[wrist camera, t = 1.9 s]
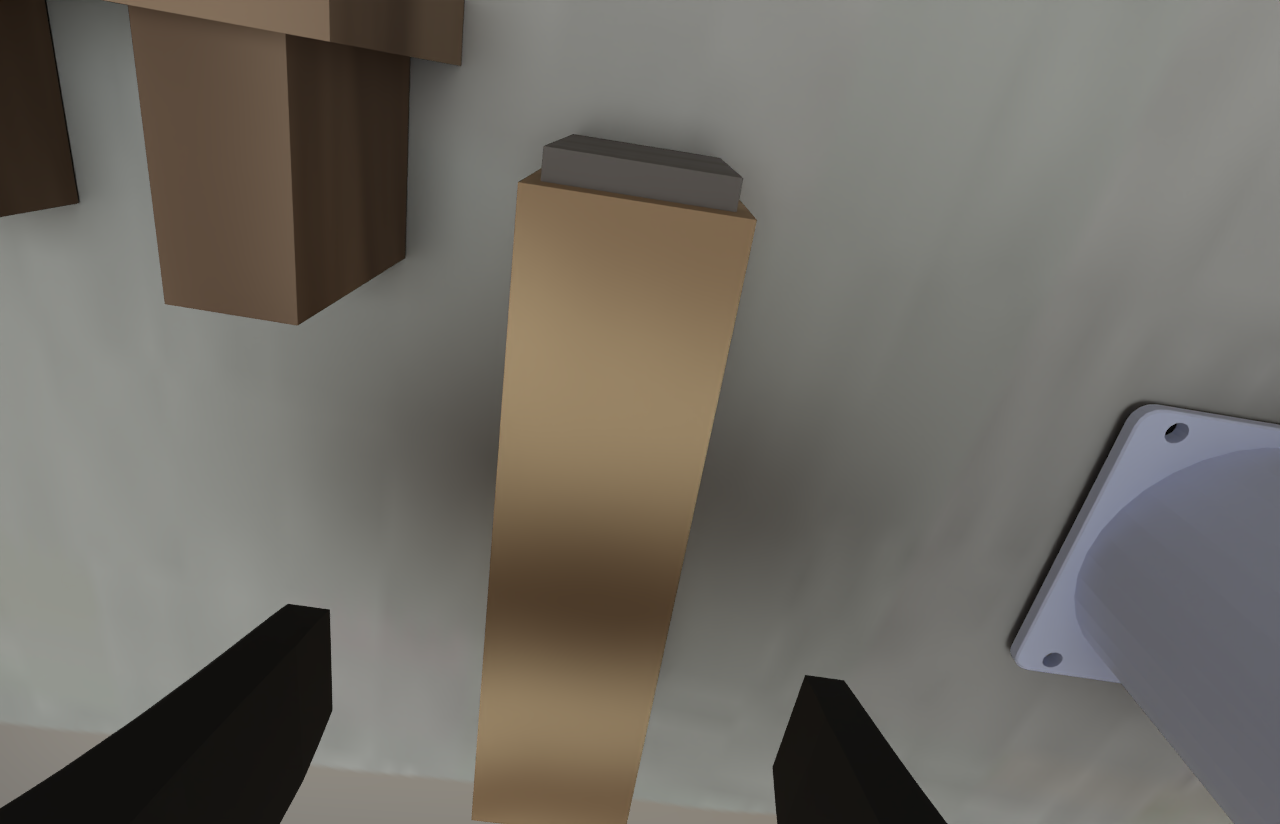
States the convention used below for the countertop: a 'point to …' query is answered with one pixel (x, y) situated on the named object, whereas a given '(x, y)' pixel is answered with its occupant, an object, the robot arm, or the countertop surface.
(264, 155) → the brown wooden stool
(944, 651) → the countertop surface
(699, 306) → the rail
